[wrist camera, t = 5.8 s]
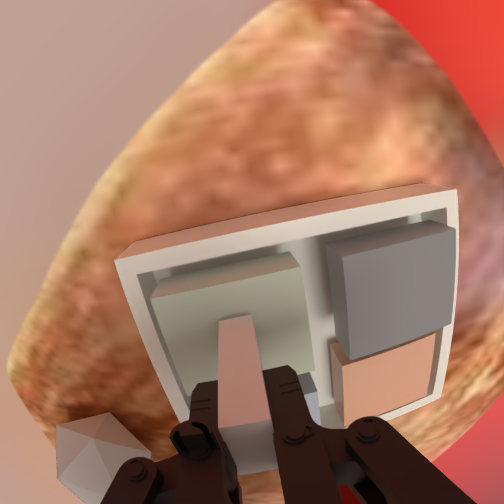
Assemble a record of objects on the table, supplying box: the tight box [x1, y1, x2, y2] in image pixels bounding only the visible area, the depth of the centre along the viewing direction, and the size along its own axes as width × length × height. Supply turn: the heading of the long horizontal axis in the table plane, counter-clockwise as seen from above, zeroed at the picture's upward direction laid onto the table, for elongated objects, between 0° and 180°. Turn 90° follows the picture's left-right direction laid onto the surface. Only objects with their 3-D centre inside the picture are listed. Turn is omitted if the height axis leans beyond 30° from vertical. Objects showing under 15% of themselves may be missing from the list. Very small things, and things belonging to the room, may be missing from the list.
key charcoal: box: [325, 220, 456, 360], centre depth 16 cm, size 7×6×3 cm
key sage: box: [150, 251, 315, 396], centre depth 16 cm, size 7×6×3 cm
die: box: [56, 412, 151, 504], centre depth 20 cm, size 8×9×10 cm
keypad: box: [114, 183, 459, 429], centre depth 20 cm, size 20×17×4 cm
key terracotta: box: [330, 331, 436, 426], centre depth 20 cm, size 7×6×3 cm
